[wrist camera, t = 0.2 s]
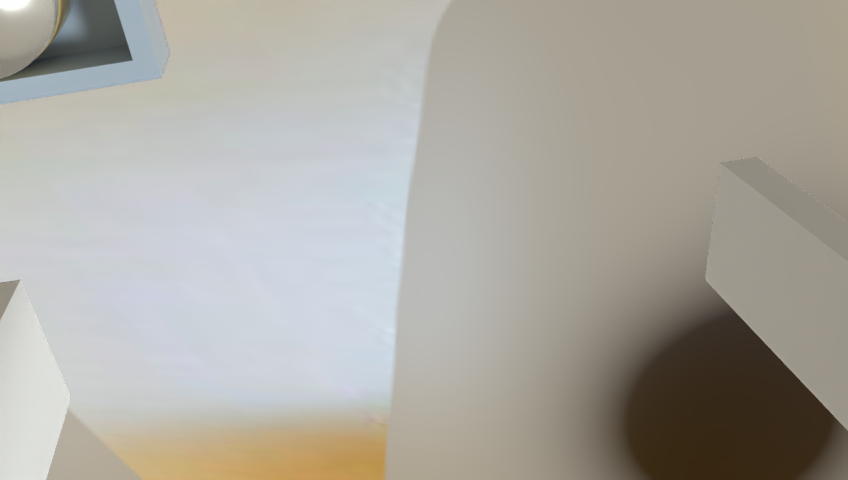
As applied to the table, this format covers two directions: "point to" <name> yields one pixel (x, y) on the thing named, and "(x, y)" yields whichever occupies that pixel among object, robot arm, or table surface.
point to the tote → (95, 51)
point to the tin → (28, 30)
